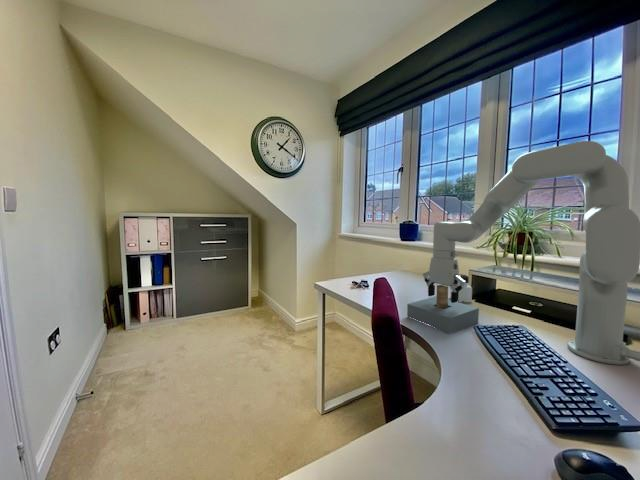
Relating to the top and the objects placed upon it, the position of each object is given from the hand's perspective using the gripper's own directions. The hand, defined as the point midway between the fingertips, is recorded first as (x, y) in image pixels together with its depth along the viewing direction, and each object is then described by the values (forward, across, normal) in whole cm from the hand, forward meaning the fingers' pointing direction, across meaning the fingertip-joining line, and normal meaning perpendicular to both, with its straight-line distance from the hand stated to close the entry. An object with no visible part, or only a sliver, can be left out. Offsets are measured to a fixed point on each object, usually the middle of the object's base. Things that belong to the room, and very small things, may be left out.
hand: (442, 298), depth 105 cm
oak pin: (+7, 0, 0) cm, 7 cm away
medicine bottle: (+8, +10, -29) cm, 32 cm away
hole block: (+8, 0, 0) cm, 8 cm away
